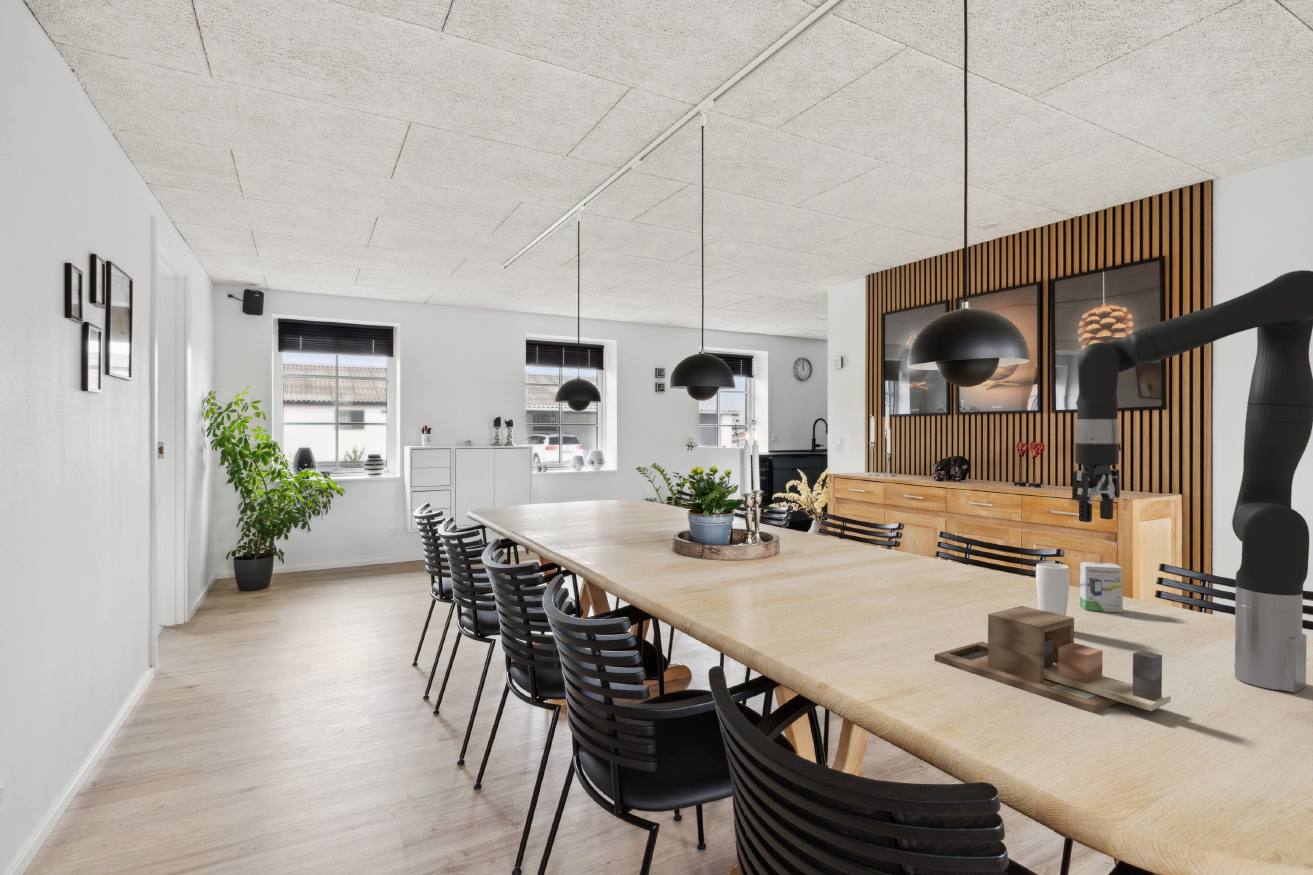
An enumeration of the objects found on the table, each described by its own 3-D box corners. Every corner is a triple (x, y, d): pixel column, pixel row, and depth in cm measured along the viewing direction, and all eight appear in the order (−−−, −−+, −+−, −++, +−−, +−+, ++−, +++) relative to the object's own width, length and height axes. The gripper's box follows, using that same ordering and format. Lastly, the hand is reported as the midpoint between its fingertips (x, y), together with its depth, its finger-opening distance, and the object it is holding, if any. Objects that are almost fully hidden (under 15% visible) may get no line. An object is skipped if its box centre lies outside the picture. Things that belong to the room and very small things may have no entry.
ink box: (1116, 608, 178) (1116, 563, 178) (1123, 613, 173) (1123, 567, 173) (1078, 605, 181) (1079, 561, 180) (1084, 610, 176) (1085, 565, 175)
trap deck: (1139, 693, 121) (1140, 629, 120) (1093, 712, 112) (1094, 644, 112) (981, 646, 146) (982, 594, 146) (934, 660, 138) (934, 604, 137)
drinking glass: (1060, 625, 162) (1060, 562, 162) (1074, 634, 155) (1075, 568, 155) (1030, 624, 163) (1030, 562, 162) (1043, 633, 156) (1044, 568, 156)
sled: (1170, 701, 113) (1171, 653, 113) (1150, 710, 109) (1151, 661, 109) (1042, 664, 131) (1043, 622, 130) (1022, 671, 127) (1022, 628, 127)
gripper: (1099, 442, 132) (1098, 525, 133) (1134, 441, 140) (1133, 520, 140) (1059, 441, 139) (1058, 520, 139) (1094, 441, 146) (1094, 516, 146)
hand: (1096, 520), depth 140 cm, fingers open, 8 cm apart
